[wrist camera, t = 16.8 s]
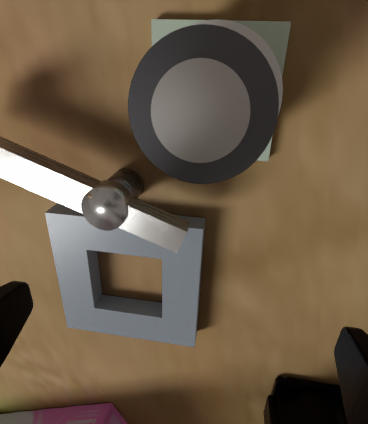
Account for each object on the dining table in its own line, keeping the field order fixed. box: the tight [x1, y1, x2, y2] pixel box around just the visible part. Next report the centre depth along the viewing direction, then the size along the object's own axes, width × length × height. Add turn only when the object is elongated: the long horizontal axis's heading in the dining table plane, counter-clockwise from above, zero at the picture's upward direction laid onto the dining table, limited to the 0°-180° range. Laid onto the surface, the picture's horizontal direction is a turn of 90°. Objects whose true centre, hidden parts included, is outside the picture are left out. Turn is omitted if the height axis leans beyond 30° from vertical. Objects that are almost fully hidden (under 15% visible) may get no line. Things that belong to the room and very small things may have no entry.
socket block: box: [45, 203, 205, 347], centre depth 23 cm, size 11×11×2 cm
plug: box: [128, 19, 283, 184], centre depth 12 cm, size 6×6×9 cm
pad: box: [152, 19, 291, 161], centre depth 17 cm, size 7×7×1 cm
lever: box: [0, 136, 190, 253], centre depth 17 cm, size 3×15×6 cm, turn 67°
